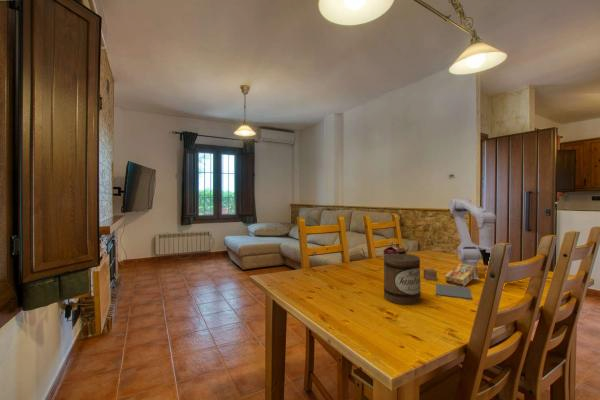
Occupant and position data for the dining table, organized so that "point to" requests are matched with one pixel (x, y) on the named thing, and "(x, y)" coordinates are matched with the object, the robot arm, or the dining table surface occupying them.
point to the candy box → (461, 274)
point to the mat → (453, 291)
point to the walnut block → (430, 274)
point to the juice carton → (391, 249)
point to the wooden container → (402, 278)
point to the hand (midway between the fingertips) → (486, 265)
